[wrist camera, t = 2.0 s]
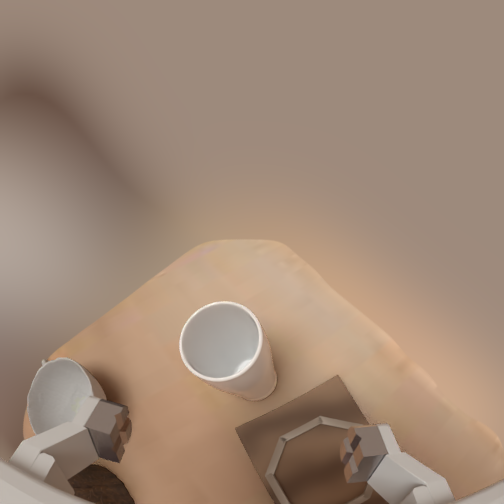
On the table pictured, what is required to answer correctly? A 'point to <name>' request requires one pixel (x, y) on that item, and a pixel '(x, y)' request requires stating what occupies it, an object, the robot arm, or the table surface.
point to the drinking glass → (229, 350)
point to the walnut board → (307, 448)
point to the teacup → (59, 393)
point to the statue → (99, 486)
